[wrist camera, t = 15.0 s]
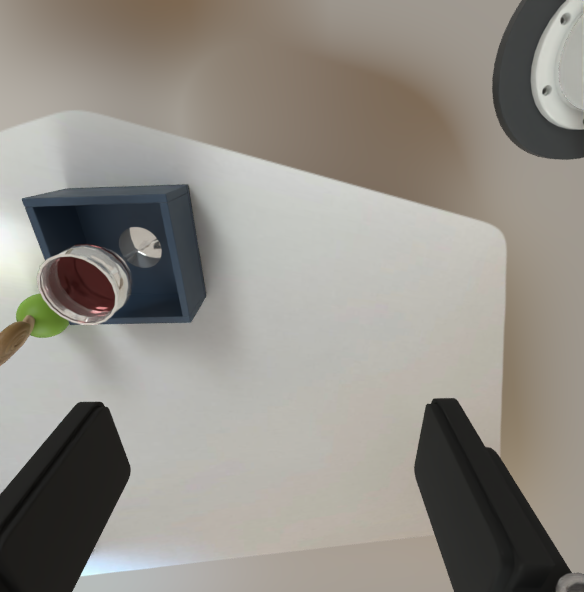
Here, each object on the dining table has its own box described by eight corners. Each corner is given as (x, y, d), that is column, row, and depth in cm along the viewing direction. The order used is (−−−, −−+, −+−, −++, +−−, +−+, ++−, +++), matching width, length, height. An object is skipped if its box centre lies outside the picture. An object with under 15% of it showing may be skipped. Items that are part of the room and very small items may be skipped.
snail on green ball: (30, 314, 43) (-60, 372, 33) (45, 278, 41) (-46, 328, 30) (69, 335, 45) (-4, 398, 34) (87, 301, 42) (14, 357, 32)
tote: (66, 188, 36) (20, 198, 30) (188, 184, 36) (165, 193, 30) (101, 298, 42) (69, 325, 36) (206, 296, 42) (191, 322, 36)
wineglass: (149, 285, 40) (95, 339, 30) (100, 249, 39) (23, 293, 28) (180, 246, 38) (133, 289, 27) (129, 206, 36) (57, 235, 26)
